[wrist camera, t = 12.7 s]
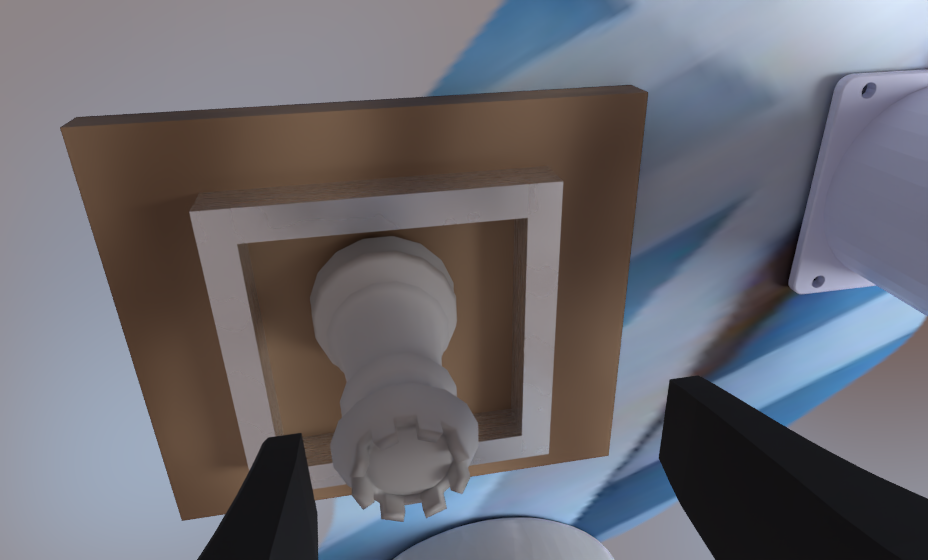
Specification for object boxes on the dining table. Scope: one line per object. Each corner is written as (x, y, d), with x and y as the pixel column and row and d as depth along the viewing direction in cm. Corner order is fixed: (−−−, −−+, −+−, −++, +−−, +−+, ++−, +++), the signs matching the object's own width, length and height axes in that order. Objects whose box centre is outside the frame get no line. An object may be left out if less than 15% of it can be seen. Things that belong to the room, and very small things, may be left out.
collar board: (631, 84, 20) (672, 102, 17) (597, 435, 26) (623, 483, 24) (76, 117, 17) (36, 142, 15) (188, 495, 24) (173, 555, 21)
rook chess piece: (465, 332, 21) (532, 517, 14) (335, 370, 21) (339, 578, 14) (434, 212, 19) (494, 360, 12) (289, 253, 19) (266, 428, 12)
